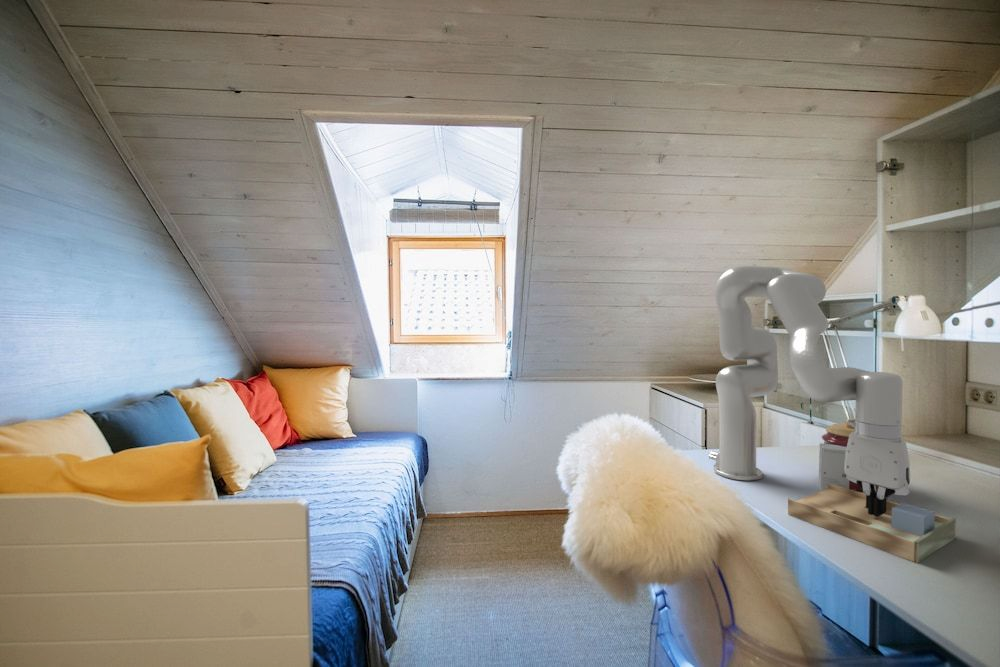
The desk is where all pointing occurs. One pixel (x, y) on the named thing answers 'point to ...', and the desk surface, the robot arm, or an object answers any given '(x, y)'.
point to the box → (869, 523)
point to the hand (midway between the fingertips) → (875, 513)
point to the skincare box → (832, 466)
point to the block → (912, 519)
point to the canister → (841, 442)
